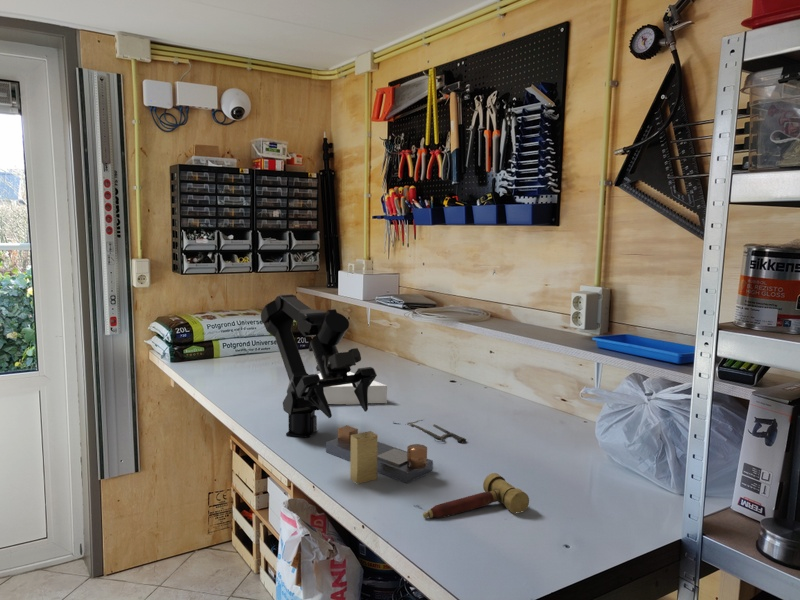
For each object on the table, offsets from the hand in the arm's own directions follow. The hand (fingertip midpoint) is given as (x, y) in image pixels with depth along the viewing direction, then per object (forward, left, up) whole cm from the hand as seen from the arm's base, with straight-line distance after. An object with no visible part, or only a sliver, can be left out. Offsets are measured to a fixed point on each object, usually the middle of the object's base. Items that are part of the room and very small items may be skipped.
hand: (348, 413), depth 136 cm
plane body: (+6, +5, -13) cm, 15 cm away
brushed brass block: (+5, -5, -13) cm, 15 cm away
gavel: (+29, -13, -13) cm, 35 cm away
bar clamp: (+14, +28, -13) cm, 34 cm away
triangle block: (-15, +52, -13) cm, 56 cm away
